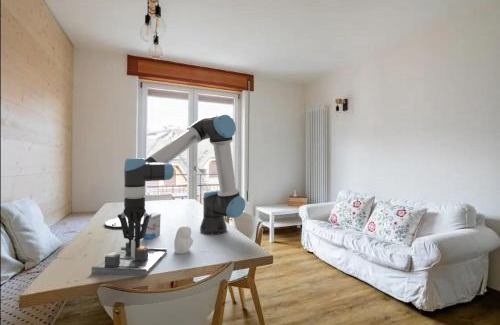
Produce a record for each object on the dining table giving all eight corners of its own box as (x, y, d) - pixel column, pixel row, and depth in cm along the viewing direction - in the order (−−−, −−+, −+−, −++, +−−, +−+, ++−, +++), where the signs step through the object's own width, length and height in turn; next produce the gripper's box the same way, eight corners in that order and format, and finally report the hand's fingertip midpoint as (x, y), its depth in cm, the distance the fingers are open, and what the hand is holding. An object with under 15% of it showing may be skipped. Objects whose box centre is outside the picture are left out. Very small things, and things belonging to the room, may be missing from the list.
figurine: (182, 255, 114) (183, 228, 114) (170, 252, 118) (170, 225, 118) (194, 250, 120) (194, 224, 120) (182, 247, 124) (182, 222, 124)
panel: (166, 253, 116) (166, 248, 116) (145, 275, 95) (145, 269, 95) (122, 252, 117) (122, 247, 117) (91, 273, 96) (91, 267, 96)
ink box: (151, 239, 134) (151, 216, 134) (142, 238, 135) (142, 215, 135) (160, 234, 143) (160, 212, 142) (152, 234, 144) (152, 212, 143)
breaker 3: (148, 257, 107) (148, 246, 107) (144, 260, 104) (144, 248, 104) (138, 257, 107) (138, 246, 107) (134, 260, 104) (134, 248, 104)
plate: (154, 225, 161) (154, 222, 161) (108, 232, 146) (108, 228, 146) (144, 217, 181) (144, 214, 181) (102, 222, 167) (102, 219, 167)
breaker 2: (138, 250, 115) (138, 239, 115) (135, 252, 112) (135, 242, 112) (129, 249, 115) (129, 239, 115) (125, 252, 112) (125, 241, 112)
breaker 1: (119, 264, 100) (119, 252, 100) (115, 268, 97) (115, 255, 97) (109, 264, 100) (109, 252, 100) (104, 267, 97) (104, 255, 97)
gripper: (154, 195, 108) (154, 252, 109) (123, 195, 109) (123, 251, 110) (146, 198, 101) (146, 260, 102) (113, 198, 101) (113, 258, 102)
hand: (134, 255), depth 106 cm, fingers closed
